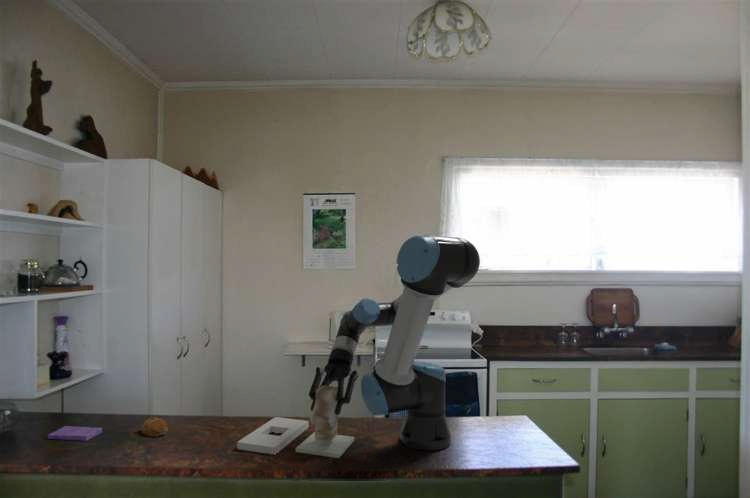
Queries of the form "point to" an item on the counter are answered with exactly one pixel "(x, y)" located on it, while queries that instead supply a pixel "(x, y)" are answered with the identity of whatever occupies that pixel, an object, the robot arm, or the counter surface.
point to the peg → (325, 413)
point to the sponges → (75, 433)
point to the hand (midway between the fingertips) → (321, 423)
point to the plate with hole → (273, 443)
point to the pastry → (154, 427)
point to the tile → (325, 446)
